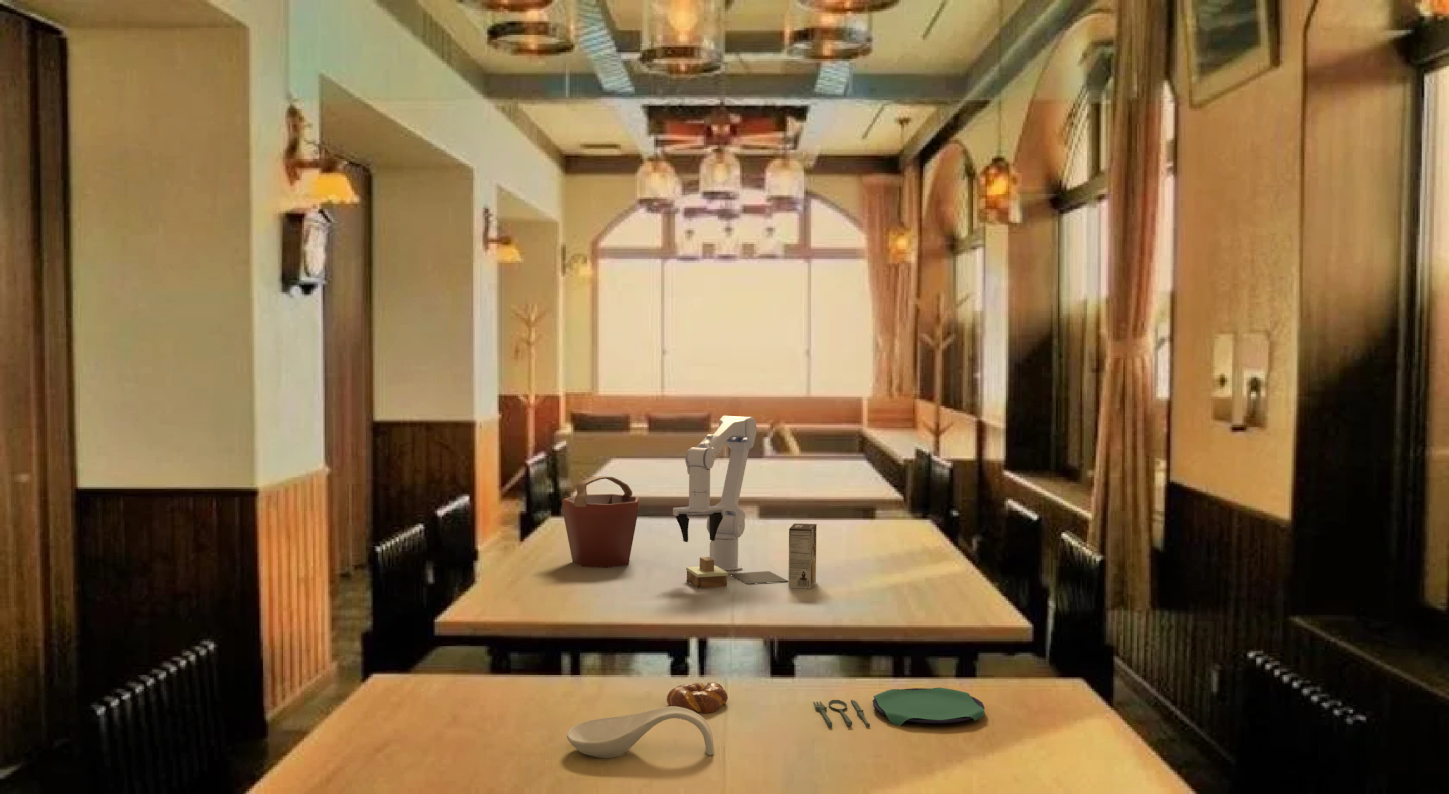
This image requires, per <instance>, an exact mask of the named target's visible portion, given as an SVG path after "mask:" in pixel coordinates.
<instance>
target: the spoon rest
mask: <svg viewBox="0 0 1449 794" xmlns="http://www.w3.org/2000/svg"><path fill="white" fill-rule="evenodd" d="M669 719H681V720H684V721H687V722H689V723H691V724H692V725H694V726H695V727H696V728H697V729H698V730H699V731H700V733H701V734H702V736H703V740H704V746H705V753H706V754H707V755H708V756H713V755H715V754H714V753H715V752H714V751H715V746H714V745H715V744H714V737H713V732H712V729H711V727H710V725H709V723H708V722H707V720H706V719H705V717H703V716H702V715H700V714H699V713H696V712H694V711H692V710H689V709H686V708H682V707H676V706H669V705H668V706H663V707H657V708H653V709H650V710H645V711H641V712H636V713H632V714H626V715H620V716H610V717H609V716H608V717H601V718H595V719H589V720H586V721H583V722H580V723H577V724H576V725H574V726H572V727H571V728H570V729H569V730H568V731H567V734H566V739H567V740H568V741H569V743H570V745H571V746H572V747H573V748H575V749H576V750H577V751H578V752H580V753H581V754H585V755H586V756H590V757H594V758H599V759H610V758H617V757H620V756H623V755H624V754H626V752H627V751H629V749H632V747H633V746H634V745H635V744H636V743H637V742H638V741H639V740H640V739H641V738H642V737H643V736H644V735H646V734H647V733H648V732H649V731H651V729H652V728H653V727H656V726H657V725H658V724H660V723H662V722H663V721H666V720H669Z"/></svg>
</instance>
